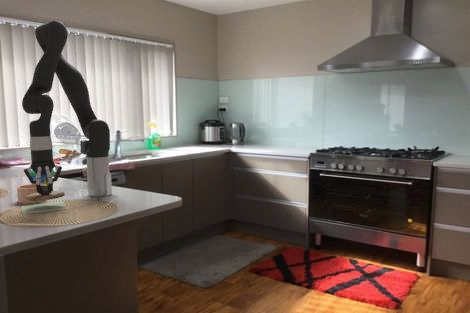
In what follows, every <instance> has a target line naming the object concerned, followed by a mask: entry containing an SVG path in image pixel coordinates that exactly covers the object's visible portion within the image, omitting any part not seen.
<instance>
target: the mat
mask: <svg viewBox="0 0 470 313" xmlns="http://www.w3.org/2000/svg"><path fill="white" fill-rule="evenodd" d="M62 210H68V207H67V206H66V204H65V202H64V201H63V200H61V201H54V202H44V203H43V202H41V203H32V204H23V205H21V211H22V214H23V215H25V214H26V215H27V214H36V213H37V214H38V213H44V212H53V211H62Z"/></svg>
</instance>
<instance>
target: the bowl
mask: <svg viewBox="0 0 470 313" xmlns="http://www.w3.org/2000/svg"><path fill="white" fill-rule="evenodd" d="M41 185H46V184H40V186H41ZM16 189H17V190H16V191H17V192H16V193H17V203H18V204H23V205H31V204H40V203H43V202H46V201H47V200H41V201H30V200H26V199H25V196H26V195H29V194H32V193H37V190H36V184H32V183H30V184H23V185H19V186H17V187H16Z"/></svg>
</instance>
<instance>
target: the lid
mask: <svg viewBox="0 0 470 313" xmlns="http://www.w3.org/2000/svg"><path fill="white" fill-rule="evenodd" d="M65 194H66V193H65V192H64V191H61V190H60V191H59V190H53V191H51V193H49V185H41V194H39V193H32V194H29V195H26V196H25V199H26V200H30V201H41V200H46V201H50V200H55V199H60V198H62V197H65Z"/></svg>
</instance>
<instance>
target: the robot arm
mask: <svg viewBox="0 0 470 313" xmlns="http://www.w3.org/2000/svg"><path fill="white" fill-rule="evenodd" d="M34 34H35V38H36V39H35V40H36V41H37V43H38V45H39V47H40V49H41V50H42V52H43V54H42V56H40V59H39V60H38V62H37V64H36V66H35V68H34V72H33V74H32V75H33V76H32V80H31V83H30V85H29V87H28V89H27V91H26V92H25V94H24V95H23V98H22V100H21V101H22V102H21V106H22V110H23V111H24V112H25V113H26V114H29V115H40V116H39V117H38V119H35V120H32V121H30V122H29V138H30V139H29V150H30V160H31V163H30V166H29V167H26V168H24V169H23V172H24V174H25V176H26V177H27V179H28V180H29V182H30V184H36V190H37V193H39V194H41V186H40V176H41V175H47V177H48V181H49V183H48V185H49V193H51V191H54V188H53V187H54V186H53V185H54V182H55V183H56V182H57V181H58V180H59V177H60V174H61V172H62V170H63V166H61V165H57V164H55V162H54V152H53V142H52V141H53V140H52V135H51V121H52V116H53V112H54V107H55V104H54V100H53V98H52V97H51V96H50V95H48V94H47V93H49V92H51V91H52V89H53V85H54V79H55V75H56V77H57V79H58V81H59V84H60V86H61V87H62V90H63V92H64V93H65V96H66V98H67V99H68V101H69V103H70V105H71V107H72V109H73V111H74V113H75V115H76V117H77V121H78V123H79V125H80V129H81V131H82V134H83V136H84V137H85V138H86V139H87V140H88V148H87V150H86V151H85V152H86V170H87V171H86V172H87V173H86V174H87V194H88V196H89V197H105V196H106V197H107V196H110V195H112V194H113V191H112V190H113V188H112V187H113V186H112V173H111V172H110V157H109V155H110V154H109V152H110V150H111V134H110V128H109V124H108V123H107V121H104V120H102V119H98V118H97V116H96V114H95V112H94V111H93V108H92V106H91V98H90V92H89V88H88V85H87V83H86V81H85V79H84V77H83V75H82V73H81V71H79V69H78V68H77V67H75V66H74V65H73V64H72V63H70V62H69V61H68V60H67V59H66V58H65V56H63V54H62V53H63V50H64V48H65V45H66V42H67V40H68V34H69V32H68V30H67V27H66V26H65V24H64V23H63V22H61V21H59V20H51V21H48V22H46V23H43V24H41V25H38V26H37V27H36V28H35V31H34ZM54 169H55V170H54ZM31 170H33V171H34V172H35V173H36V180H33V178H32V177H31V175H30V173H31ZM52 170H54V171H55V173H54V176H53V178H51V174H50V173H51V171H52Z"/></svg>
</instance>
